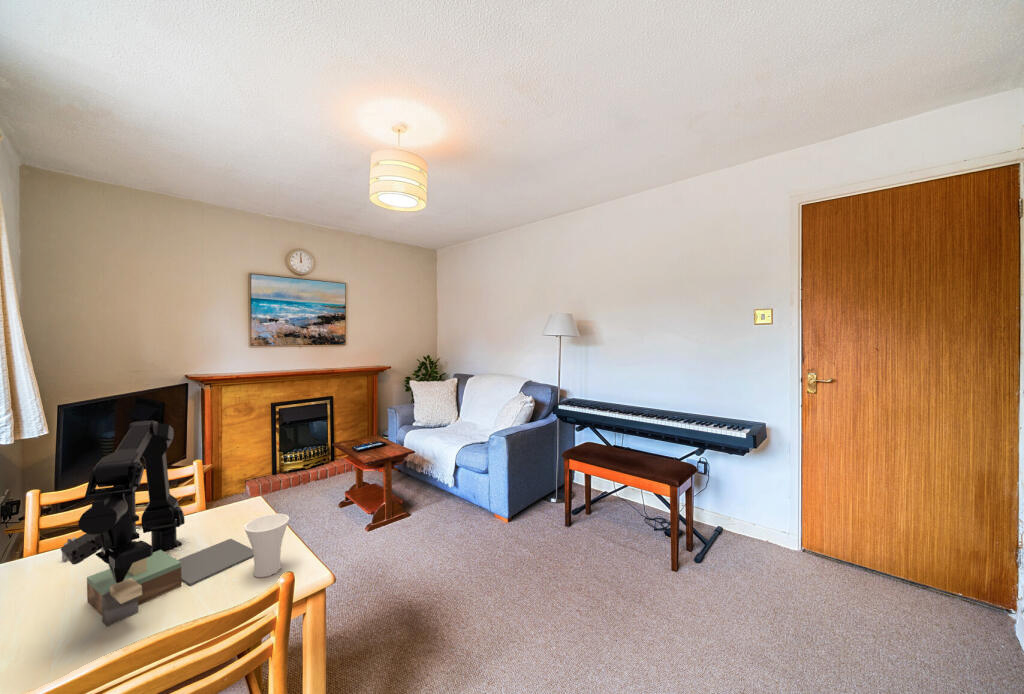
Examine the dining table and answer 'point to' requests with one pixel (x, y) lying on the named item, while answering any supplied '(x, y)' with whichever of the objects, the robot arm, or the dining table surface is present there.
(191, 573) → the mat
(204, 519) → the dining table surface
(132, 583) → the wooden block
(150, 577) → the lid
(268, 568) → the cup
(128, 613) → the toolbox
